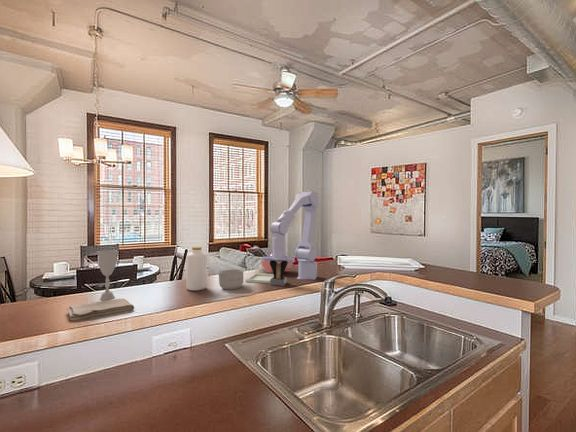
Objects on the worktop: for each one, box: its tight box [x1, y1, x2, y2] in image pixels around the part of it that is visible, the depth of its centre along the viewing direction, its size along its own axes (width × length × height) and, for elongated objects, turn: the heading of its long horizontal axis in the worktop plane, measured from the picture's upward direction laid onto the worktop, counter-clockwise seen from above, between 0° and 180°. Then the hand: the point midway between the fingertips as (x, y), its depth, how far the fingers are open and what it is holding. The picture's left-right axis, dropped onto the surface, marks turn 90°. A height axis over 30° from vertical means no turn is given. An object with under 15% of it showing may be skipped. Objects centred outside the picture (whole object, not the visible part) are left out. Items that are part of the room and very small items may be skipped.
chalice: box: [96, 249, 118, 301], centre depth 119 cm, size 7×7×18 cm
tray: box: [244, 272, 274, 284], centre depth 152 cm, size 12×16×2 cm
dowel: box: [276, 263, 282, 280], centre depth 142 cm, size 3×3×9 cm
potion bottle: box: [186, 246, 208, 292], centre depth 134 cm, size 8×8×18 cm
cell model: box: [259, 253, 293, 274], centre depth 170 cm, size 17×20×11 cm
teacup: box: [217, 268, 244, 291], centre depth 136 cm, size 14×11×8 cm
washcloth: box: [66, 298, 135, 322], centre depth 103 cm, size 12×18×3 cm, turn 131°
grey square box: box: [269, 276, 288, 287], centre depth 142 cm, size 6×6×3 cm
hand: (278, 277), depth 142 cm, fingers closed on dowel, 3 cm apart
